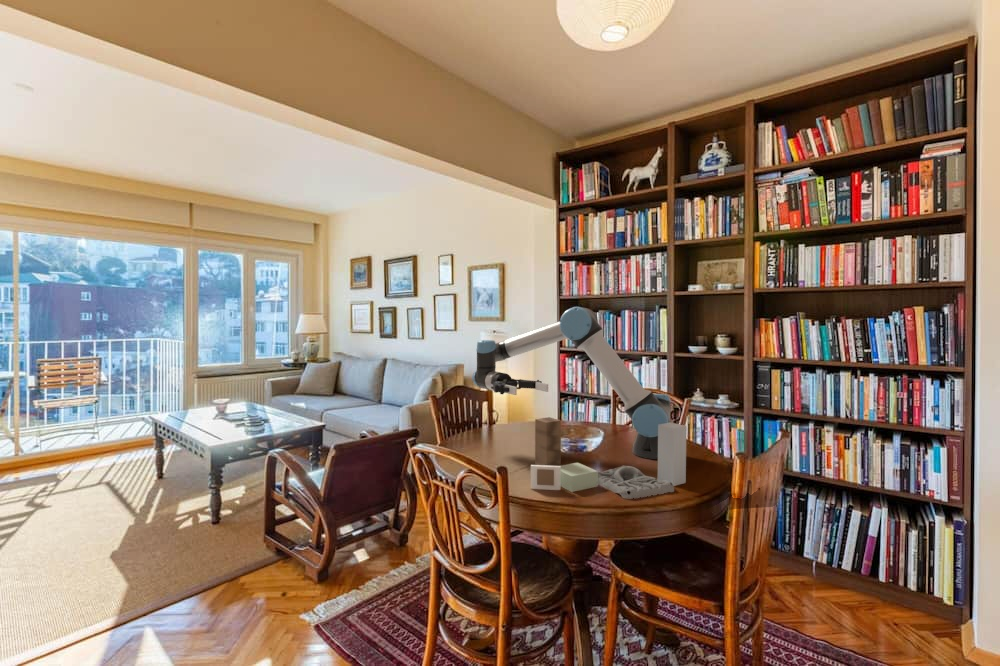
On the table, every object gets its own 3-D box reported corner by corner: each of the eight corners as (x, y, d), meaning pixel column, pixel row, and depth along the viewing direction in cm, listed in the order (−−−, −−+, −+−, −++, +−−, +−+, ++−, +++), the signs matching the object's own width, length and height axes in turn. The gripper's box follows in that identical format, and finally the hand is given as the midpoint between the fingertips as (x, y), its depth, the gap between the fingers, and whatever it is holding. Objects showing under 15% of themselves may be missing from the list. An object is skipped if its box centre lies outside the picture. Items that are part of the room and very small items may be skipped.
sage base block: (577, 477, 158) (577, 462, 158) (597, 487, 149) (597, 471, 149) (552, 482, 153) (552, 467, 153) (571, 492, 145) (571, 476, 144)
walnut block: (549, 469, 166) (549, 417, 165) (560, 474, 161) (560, 420, 160) (535, 472, 162) (535, 419, 162) (546, 477, 157) (546, 422, 157)
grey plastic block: (669, 477, 158) (670, 422, 157) (685, 482, 153) (686, 425, 152) (657, 480, 154) (658, 424, 154) (673, 486, 149) (674, 428, 149)
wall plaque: (678, 492, 145) (678, 479, 145) (626, 502, 138) (626, 488, 138) (628, 469, 167) (628, 458, 167) (581, 476, 160) (581, 465, 160)
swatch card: (530, 487, 148) (530, 464, 148) (560, 488, 147) (560, 466, 147) (530, 489, 147) (530, 466, 146) (560, 490, 146) (560, 467, 145)
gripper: (525, 389, 193) (559, 397, 175) (470, 394, 179) (501, 403, 162) (525, 370, 193) (559, 376, 175) (470, 374, 179) (501, 381, 161)
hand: (532, 389), depth 168 cm, fingers open, 13 cm apart
